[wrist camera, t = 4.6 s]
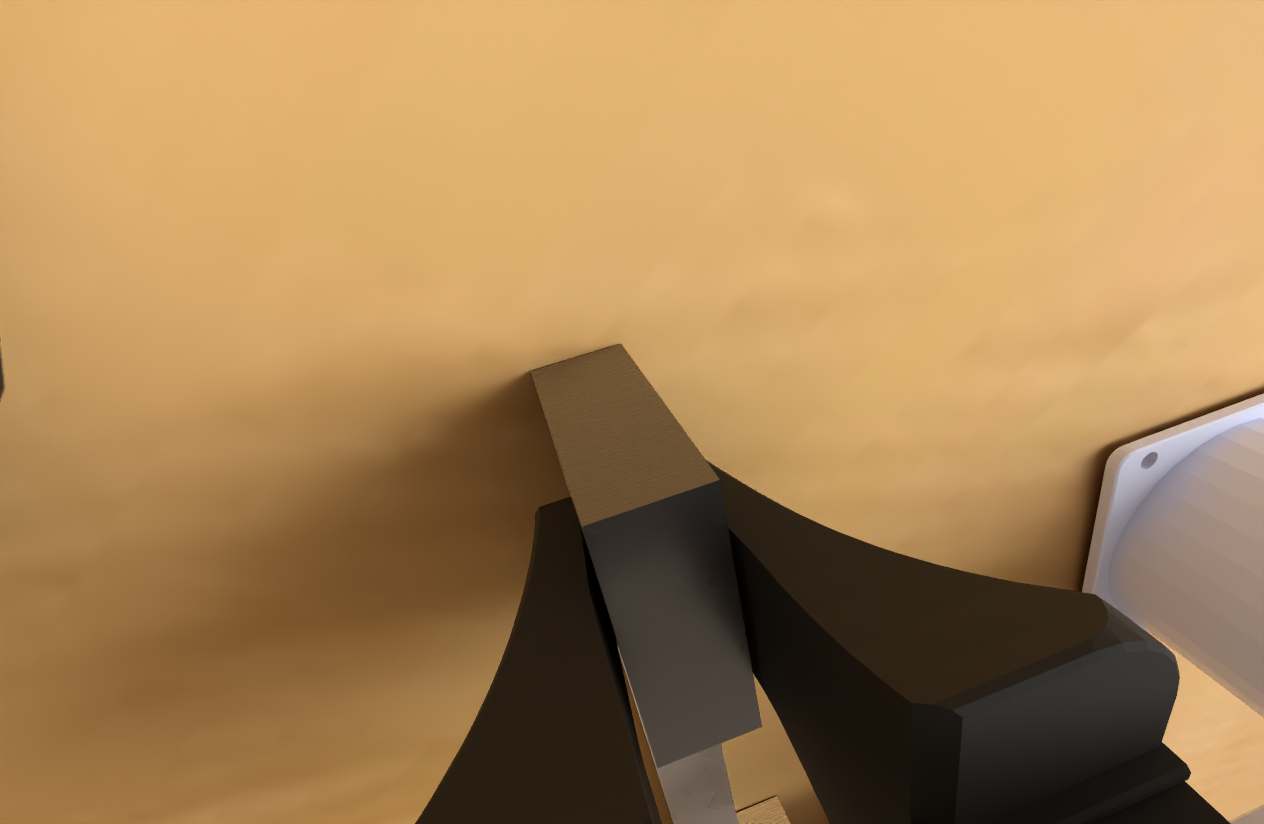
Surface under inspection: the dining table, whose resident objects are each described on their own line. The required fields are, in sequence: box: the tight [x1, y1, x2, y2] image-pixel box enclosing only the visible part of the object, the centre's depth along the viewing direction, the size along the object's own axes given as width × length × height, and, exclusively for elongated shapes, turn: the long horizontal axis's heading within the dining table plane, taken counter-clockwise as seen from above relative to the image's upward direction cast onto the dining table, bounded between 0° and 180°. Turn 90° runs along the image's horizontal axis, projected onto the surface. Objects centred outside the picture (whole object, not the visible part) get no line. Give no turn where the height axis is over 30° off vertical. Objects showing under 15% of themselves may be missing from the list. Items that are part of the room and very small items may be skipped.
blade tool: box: [531, 344, 790, 824], centre depth 14 cm, size 18×5×5 cm, turn 12°
